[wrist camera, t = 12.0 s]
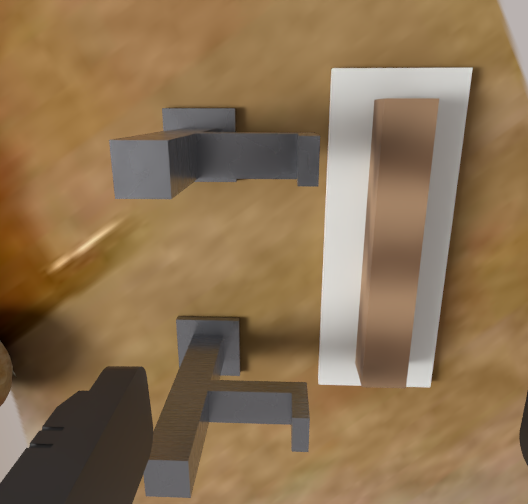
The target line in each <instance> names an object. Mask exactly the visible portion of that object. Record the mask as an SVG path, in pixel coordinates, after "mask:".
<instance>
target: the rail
mask: <svg viewBox="0 0 528 504" xmlns="http://www.w3.org/2000/svg"><path fill="white" fill-rule="evenodd" d="M438 105H439V98H384V99H376V100H374V112H373V126H372V140H371V153H370V167H369V181H368V194H367V208H366V222H365V235H364V249H363V263H362V276H361V290H360V304H359V317H358V331H357V345H356V358H355V365H356V368H357V372H358V375H359V379H360V382H361V386H362V387H380V388H406V383H407V375H408V366H409V357H410V349H411V340H412V331H413V323H414V314H415V305H416V297H417V288H418V279H419V271H420V262H421V253H422V244H423V236H424V227H425V218H426V210H427V201H428V192H429V184H430V175H431V166H432V158H433V149H434V140H435V131H436V123H437V114H438Z"/></svg>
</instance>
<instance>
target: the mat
mask: <svg viewBox="0 0 528 504" xmlns="http://www.w3.org/2000/svg"><path fill="white" fill-rule="evenodd" d="M472 69H473V68H332V69H331V89H330V113H329V136H328V159H327V183H326V206H325V229H324V253H323V276H322V299H321V323H320V346H319V369H318V382H319V384H321V385H359V386H361V382H360V379H359V375H358V372H357V368H356V365H355V358H356V345H357V331H358V317H359V304H360V290H361V276H362V263H363V249H364V235H365V222H366V208H367V194H368V181H369V167H370V153H371V140H372V126H373V112H374V100H376V99H384V98H439V105H438V114H437V123H436V131H435V140H434V149H433V158H432V166H431V175H430V184H429V192H428V201H427V210H426V218H425V227H424V236H423V244H422V253H421V262H420V271H419V279H418V288H417V297H416V305H415V314H414V323H413V331H412V340H411V349H410V357H409V366H408V375H407V383H406V387H430V386H431V379H432V371H433V363H434V356H435V348H436V341H437V333H438V326H439V318H440V311H441V303H442V296H443V288H444V281H445V273H446V265H447V258H448V250H449V243H450V235H451V228H452V220H453V213H454V205H455V198H456V190H457V182H458V175H459V167H460V160H461V152H462V145H463V137H464V130H465V122H466V115H467V107H468V100H469V92H470V84H471V77H472Z"/></svg>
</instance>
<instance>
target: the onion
mask: <svg viewBox="0 0 528 504" xmlns="http://www.w3.org/2000/svg"><path fill="white" fill-rule="evenodd" d="M12 369H13V366H12V363H11V358H10V356H9V354H8V351H7V350H6V348H5V347H4V345H3V344H2V342H1V341H0V406H1V405H2V404H3V403H4V401H5V400H6V398H7V396H8V394H9V392H10V389H11V385H12V372H13V374H14V375H15V373H14V371H13V370H12ZM15 376H16V375H15Z"/></svg>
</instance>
